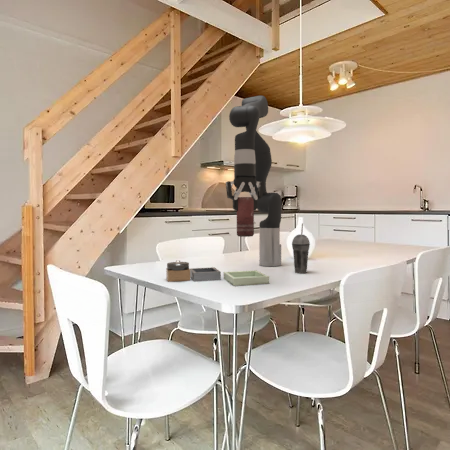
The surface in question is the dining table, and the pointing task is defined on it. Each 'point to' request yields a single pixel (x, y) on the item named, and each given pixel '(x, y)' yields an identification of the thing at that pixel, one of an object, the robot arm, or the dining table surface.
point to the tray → (246, 278)
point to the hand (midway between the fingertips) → (245, 210)
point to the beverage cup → (300, 252)
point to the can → (245, 217)
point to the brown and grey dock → (190, 272)
